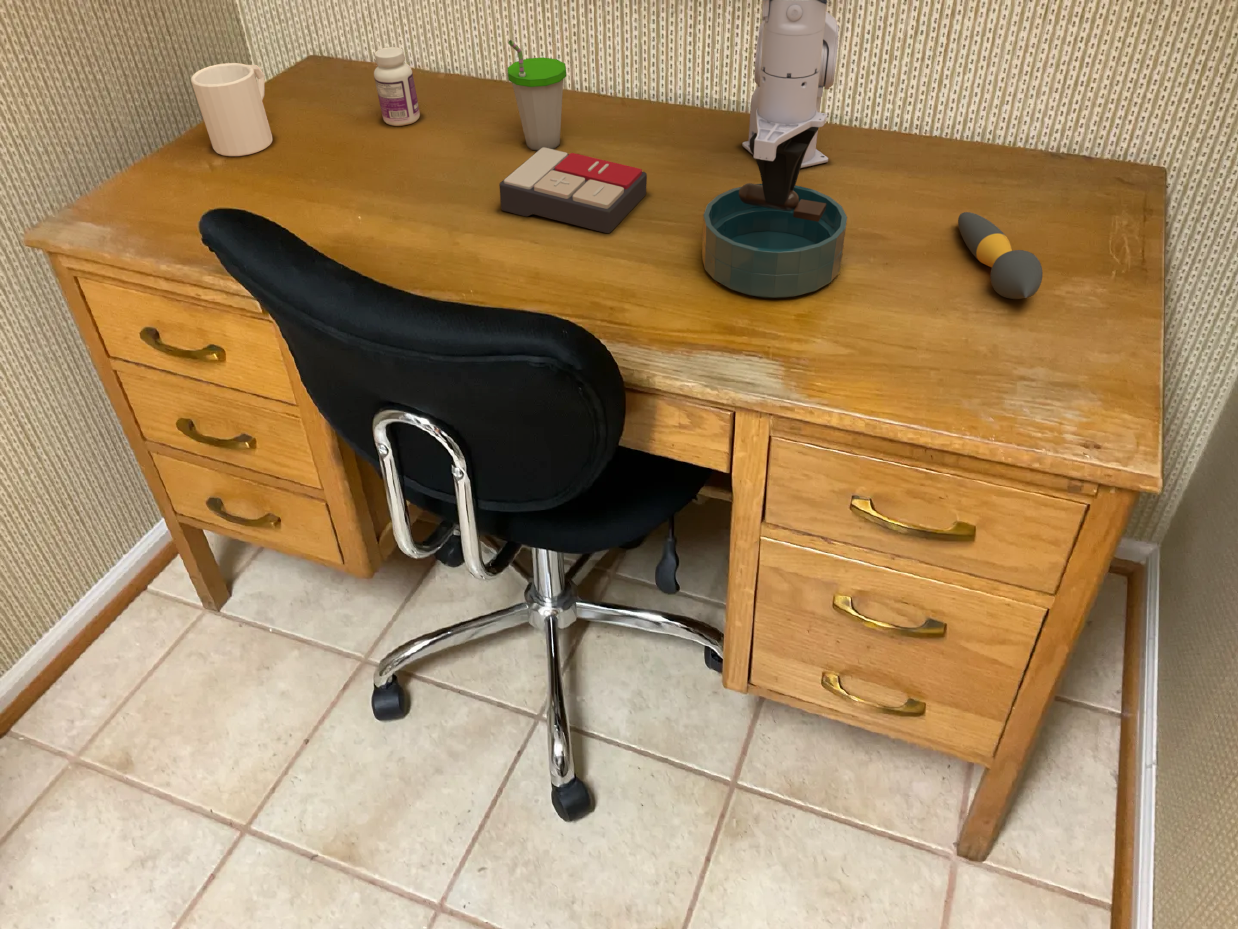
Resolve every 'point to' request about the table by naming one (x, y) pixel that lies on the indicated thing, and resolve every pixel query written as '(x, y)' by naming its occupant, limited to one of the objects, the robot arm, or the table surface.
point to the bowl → (772, 245)
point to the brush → (803, 209)
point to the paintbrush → (1001, 257)
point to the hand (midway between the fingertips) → (779, 196)
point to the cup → (538, 98)
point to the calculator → (573, 189)
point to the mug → (233, 107)
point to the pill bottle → (395, 87)
